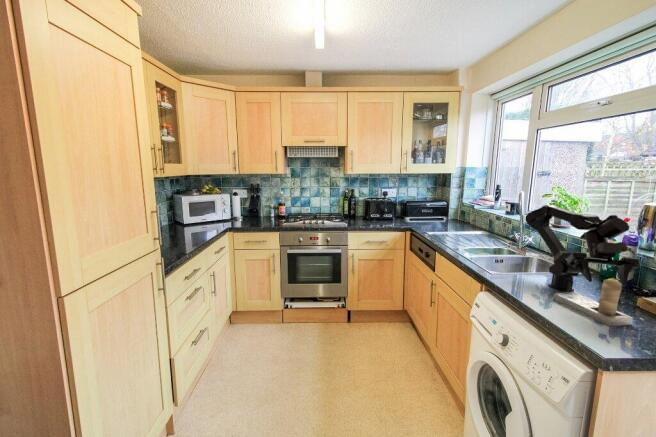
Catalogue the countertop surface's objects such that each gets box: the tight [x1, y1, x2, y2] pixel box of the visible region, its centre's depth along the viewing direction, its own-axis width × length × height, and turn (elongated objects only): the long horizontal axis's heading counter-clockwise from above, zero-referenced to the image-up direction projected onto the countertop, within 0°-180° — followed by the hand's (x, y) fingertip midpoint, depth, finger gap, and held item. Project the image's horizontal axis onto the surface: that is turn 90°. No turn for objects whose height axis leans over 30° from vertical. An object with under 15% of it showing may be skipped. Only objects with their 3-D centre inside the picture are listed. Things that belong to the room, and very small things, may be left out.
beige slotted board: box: [552, 291, 634, 327], centre depth 105 cm, size 20×9×2 cm, turn 10°
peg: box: [598, 279, 623, 317], centre depth 99 cm, size 4×4×13 cm
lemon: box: [601, 277, 623, 293], centre depth 116 cm, size 6×6×8 cm
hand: (607, 283), depth 100 cm, fingers open, 9 cm apart
